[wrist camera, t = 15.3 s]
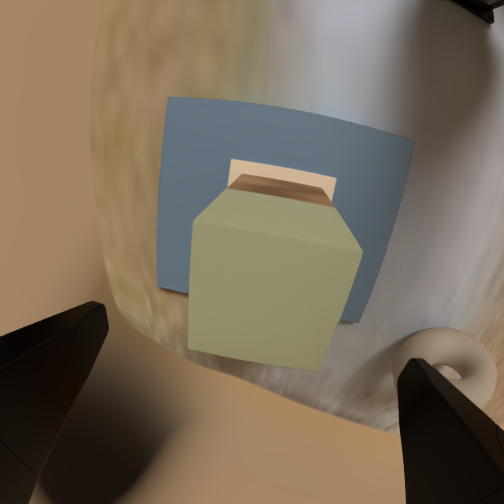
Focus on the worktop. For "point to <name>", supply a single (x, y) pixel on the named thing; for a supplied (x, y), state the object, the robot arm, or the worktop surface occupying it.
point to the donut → (453, 360)
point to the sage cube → (269, 279)
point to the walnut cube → (281, 189)
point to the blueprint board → (276, 176)
